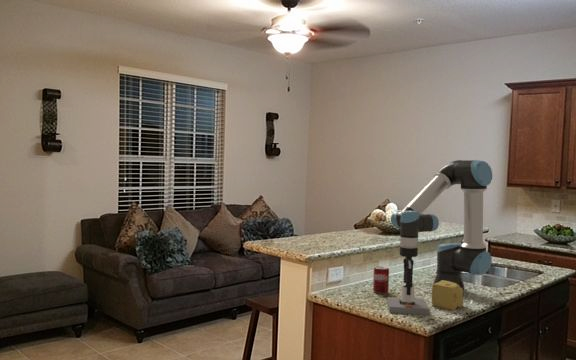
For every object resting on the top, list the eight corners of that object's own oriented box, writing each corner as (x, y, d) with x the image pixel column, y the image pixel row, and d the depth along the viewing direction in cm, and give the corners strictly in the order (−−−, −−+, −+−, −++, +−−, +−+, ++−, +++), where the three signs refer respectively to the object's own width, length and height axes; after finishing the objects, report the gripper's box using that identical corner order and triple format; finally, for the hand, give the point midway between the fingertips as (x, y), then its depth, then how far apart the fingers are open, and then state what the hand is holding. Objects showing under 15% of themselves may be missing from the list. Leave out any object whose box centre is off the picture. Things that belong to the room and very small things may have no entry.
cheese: (463, 305, 227) (464, 283, 226) (453, 310, 219) (453, 287, 218) (441, 301, 234) (441, 279, 233) (430, 306, 226) (431, 283, 225)
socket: (423, 304, 228) (423, 297, 227) (428, 314, 212) (428, 307, 212) (387, 302, 230) (387, 295, 230) (389, 312, 214) (389, 305, 214)
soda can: (388, 294, 243) (389, 269, 243) (372, 293, 245) (373, 268, 245) (388, 291, 251) (389, 266, 250) (373, 289, 252) (374, 265, 252)
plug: (412, 304, 223) (413, 278, 222) (413, 307, 218) (414, 281, 217) (400, 303, 223) (401, 278, 223) (401, 306, 218) (402, 280, 218)
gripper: (398, 243, 229) (396, 294, 230) (401, 249, 211) (400, 305, 212) (415, 243, 228) (413, 295, 229) (420, 250, 210) (418, 306, 211)
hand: (407, 300), depth 221 cm, fingers closed on plug, 5 cm apart
